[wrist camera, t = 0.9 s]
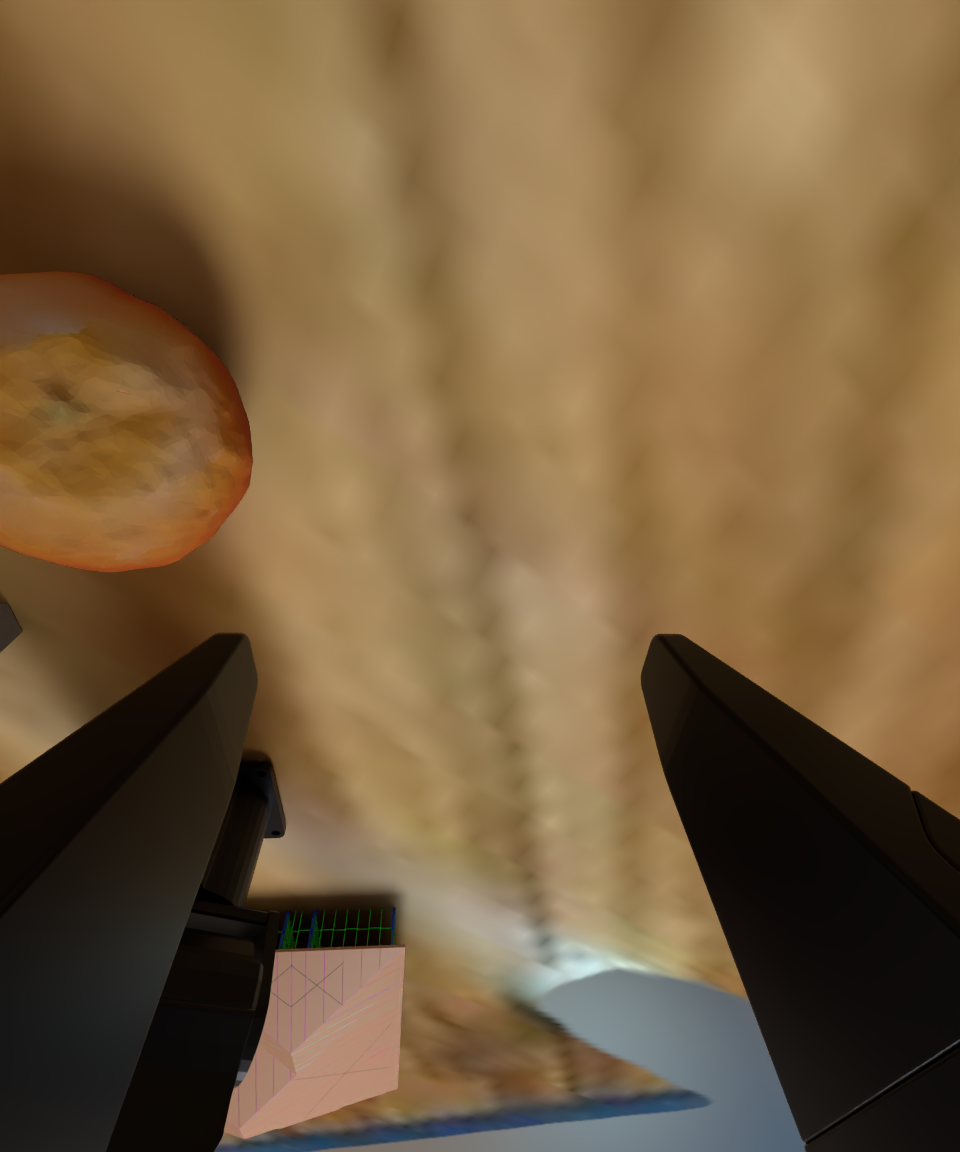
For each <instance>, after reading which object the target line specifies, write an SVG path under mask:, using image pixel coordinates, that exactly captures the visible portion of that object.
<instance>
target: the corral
mask: <svg viewBox="0 0 960 1152" xmlns="http://www.w3.org/2000/svg"><path fill="white" fill-rule="evenodd" d="M21 632H22V630H21V628H20V626H19V624H18V622H17V621H16V619H15V617H14V615H13V613H12V611H11V609H10V607H9V605H8V604H1V603H0V653H1V652H2V651H3V650H4V649H5V648H6V647H7V646H8V645H9V644H10V643H11V642H12V641H13V640H14V639H15V638H16V637H17V636H18V635H19V634H20V633H21Z"/></svg>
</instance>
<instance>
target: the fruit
mask: <svg viewBox="0 0 960 1152" xmlns="http://www.w3.org/2000/svg"><path fill="white" fill-rule="evenodd" d="M252 464H253V457H252V443H251V433H250V426H249V421H248V418H247V414H246V412H245V409H244V406H243V403H242V400H241V397H240V395H239V392H238V389H237V386H236V384H235V382H234V380H233V378H232V376H231V374H230V373H229V371H228V369H227V368H226V366H225V365H224V364H223V363H222V361H221V360H220V359H219V358H218V357H217V355H216V354H215V353H214V352H213V351H212V350H211V349H210V348H209V347H207V346H206V345H205V344H204V343H203V342H202V341H201V340H200V339H199V338H198V337H197V336H196V335H195V334H194V333H192V332H191V331H190V330H189V329H187V328H186V327H185V326H184V325H183V324H181V323H180V322H179V321H177V320H176V319H174V318H173V317H172V316H170V315H169V314H168V313H166V312H165V311H164V310H162V309H161V308H159V307H158V306H156V305H153V304H151V303H148V302H146V301H143V300H140V299H139V298H137V297H135V296H133V295H131V294H129V293H127V292H126V291H124V290H122V289H120V288H119V287H117V286H115V285H113V284H111V283H109V282H107V281H105V280H103V279H101V278H99V277H97V276H94V275H90V274H84V273H78V272H35V273H19V274H2V275H0V546H2V547H5V548H8V549H10V550H13V551H15V552H18V553H21V554H23V555H27V556H30V557H34V558H38V559H41V560H45V561H49V562H52V563H56V564H59V565H63V566H68V567H73V568H79V569H84V570H91V571H98V572H120V571H127V570H135V569H143V568H151V567H159V566H164V565H168V564H171V563H173V562H176V561H179V560H180V559H182V558H183V557H184V556H185V555H187V554H188V553H190V552H191V551H193V550H194V549H195V548H197V547H198V546H200V545H201V544H203V543H205V542H207V541H208V540H210V539H211V538H212V537H213V536H214V535H215V534H216V532H217V531H218V529H219V528H220V526H221V525H222V524H223V522H224V521H225V520H226V519H227V518H228V517H229V515H230V514H231V513H232V512H233V511H234V509H235V508H236V507H237V505H238V504H239V502H240V501H241V499H242V498H243V496H244V495H245V493H246V491H247V489H248V487H249V485H250V478H251V470H252Z"/></svg>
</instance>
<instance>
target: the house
mask: <svg viewBox="0 0 960 1152" xmlns="http://www.w3.org/2000/svg"><path fill="white" fill-rule="evenodd" d="M359 911H360V909H359ZM336 912H337V909H336ZM302 913H303V910H302ZM289 914H290V911H287V912H286V916H285V921H284V925H283V930H282V931H281V932H278V933H282V935H281V939H280V944H279V948H278V949H277V950H276V951H275V960H274V968H273V976H272V985H271V993H270V1000H269V1006H268V1011H267V1015H266V1020H265V1024H264V1027H263V1031H262V1035H261V1038H260V1041H259V1044H258V1047H257V1050H256V1053H255V1055H254V1058H253V1061H252V1063H251V1065H250V1068H249V1070H248V1072H247V1074H246V1076H245V1078H244V1079H243V1081H242V1082H241V1084H240V1085H239V1086H238V1087H236V1088H234V1089H233V1093H232V1096H231V1100H230V1105H229V1110H228V1114H227V1119H226V1124H225V1128H224V1132H225V1133H228V1134H231V1135H234V1136H237V1137H240V1138H243V1139H246V1138H249V1137H252V1136H256V1135H259V1134H262V1133H265V1132H268V1131H271V1130H274V1129H281V1128H284V1127H287V1126H290V1125H293V1124H296V1123H299V1122H302V1121H305V1120H308V1119H311V1118H314V1117H317V1116H320V1115H323V1114H326V1113H329V1112H332V1111H335V1110H338V1109H340V1108H341V1107H344V1106H347V1105H350V1104H353V1103H356V1102H359V1101H362V1100H365V1099H368V1098H371V1097H374V1096H377V1095H380V1094H383V1093H386V1092H389V1091H392V1090H395V1089H398V1071H399V1052H400V1033H401V1014H402V995H403V976H404V957H405V945H394V935H395V933H394V932H395V908H393V916H392V928H381V924H380V927H375V928H367V929H358V922H357V928H346V925H345V929H338V930H334V927H333V929H322V928H323V922H322V928H321V930H318V928H319V927H317V924H318V922H316V920H317V916H316V914H317V910H314V912H313V917H312V923H311V929H310V930H299V929H300V924H301V919H302V914H301V919H300V924H299V929H298V931H293V926H294V921H295V916H296V911H295V916H294V921H293V926H290V924H291V921H289V918H290V915H289ZM324 915H325V910H324ZM370 915H371V908H370ZM347 916H348V909H347ZM335 919H336V913H335ZM358 920H359V913H358ZM381 920H382V911H381ZM323 921H324V916H323ZM288 923H289V924H288ZM346 924H347V917H346ZM334 926H335V920H334ZM369 926H370V918H369ZM287 927H288V929H287ZM289 929H290V930H289ZM291 929H292V930H291ZM369 929H380V933H381V929H392V932H391V945H380V937H379V946H372V944H371V946H368V939H367V946H356V940H355V946H354V947H351V945H350V947H344V941H343V947H340V945H339V947H332V941H331V947H328V948H322V946H320V943H321V942H320V940H321V934H322V931H328V930H333V933H334V931H345V932H346V930H368V937H369ZM300 931H310V934H309V940H308V946H307V948H302V949H296V945H297V939H298V934H299V932H300ZM286 932H287V934H286ZM293 932H298V934H297V939H296V944H295V942H293V939H294V937H292V934H293ZM319 932H321V934H320V937H319ZM288 933H289V935H288ZM290 934H291V935H290ZM287 938H288V940H287ZM289 939H290V940H289ZM291 939H292V941H291ZM356 939H357V931H356ZM332 940H333V934H332ZM344 940H345V933H344ZM284 942H285V943H284ZM288 944H289V945H288ZM290 944H291V946H290ZM292 944H293V945H292ZM294 944H295V946H294ZM283 946H284V948H283ZM285 948H286V949H285Z"/></svg>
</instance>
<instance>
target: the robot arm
mask: <svg viewBox="0 0 960 1152" xmlns="http://www.w3.org/2000/svg"><path fill="white" fill-rule="evenodd" d="M257 681H258V679H257V671H256V667H255V662H254V658H253V653H252V649H251V644H250V641H249V638H248V637H247V635H245V634H244V633H217V634H214V635H213V636H211V637H209V638H208V639H207V640H205V641H204V642H202V643H201V644H199V645H198V646H197V647H195V648H194V649H192V650H191V651H189V652H188V653H187V654H185V655H184V656H182V657H181V658H179V659H178V660H177V661H175V662H174V663H172V664H171V665H169V666H168V667H167V668H165V669H164V670H162V671H161V672H159V673H158V674H157V675H155V676H154V677H152V678H151V679H149V680H148V681H146V682H145V683H144V684H142V685H141V686H139V687H138V688H136V689H135V690H134V691H132V692H131V693H129V694H128V695H126V696H125V697H124V698H122V699H121V700H119V701H118V702H116V703H115V704H114V705H112V706H111V707H109V708H108V709H106V710H105V711H104V712H102V713H101V714H99V715H98V716H96V717H95V718H94V719H92V720H91V721H89V722H88V723H86V724H85V725H83V726H82V727H81V728H79V729H78V730H76V731H75V732H73V733H72V734H71V735H69V736H68V737H66V738H65V739H63V740H62V741H61V742H59V743H58V744H56V745H55V746H53V747H52V748H51V749H49V750H48V751H46V752H45V753H43V754H42V755H41V756H39V757H38V758H36V759H35V760H33V761H32V762H31V763H29V764H28V765H26V766H25V767H23V768H22V769H21V770H19V771H18V772H16V773H15V774H13V775H12V776H10V777H9V778H8V779H6V780H5V781H3V782H2V783H0V1152H214V1150H215V1149H216V1147H217V1145H218V1144H219V1142H220V1140H221V1138H222V1136H223V1133H224V1128H225V1124H226V1119H227V1114H228V1110H229V1105H230V1100H231V1096H232V1093H233V1089H234V1088H236V1087H238V1086H239V1085H240V1084H241V1082H242V1081H243V1079H244V1078H245V1076H246V1074H247V1072H248V1070H249V1068H250V1065H251V1063H252V1061H253V1058H254V1055H255V1053H256V1050H257V1047H258V1044H259V1041H260V1038H261V1035H262V1031H263V1027H264V1024H265V1020H266V1015H267V1011H268V1006H269V1000H270V993H271V985H272V976H273V968H274V960H275V951H276V943H277V935H278V926H279V918H280V912H276V911H271V910H269V911H268V912H265V911H260V910H255V909H250V908H245V907H244V906H245V902H246V899H247V895H248V892H249V888H250V885H251V881H252V878H253V874H254V870H255V867H256V863H257V860H258V856H259V853H260V849H261V846H262V842H263V839H264V838H280V837H282V836H284V834H285V830H286V824H285V819H284V815H283V810H282V806H281V802H280V797H279V793H278V788H277V784H276V779H275V775H274V771H273V767H272V765H271V764H270V763H267V762H262V761H260V762H240V761H241V757H242V753H243V748H244V744H245V739H246V735H247V731H248V726H249V722H250V717H251V713H252V709H253V704H254V700H255V695H256V691H257ZM641 687H642V691H643V695H644V699H645V703H646V707H647V710H648V714H649V718H650V722H651V726H652V730H653V734H654V738H655V742H656V746H657V750H658V753H659V757H660V761H661V765H662V768H663V772H664V775H665V778H666V781H667V783H668V786H669V789H670V792H671V794H672V797H673V800H674V802H675V805H676V808H677V810H678V813H679V816H680V818H681V821H682V824H683V826H684V829H685V832H686V834H687V837H688V840H689V842H690V845H691V847H692V850H693V853H694V855H695V858H696V861H697V863H698V866H699V869H700V871H701V874H702V877H703V879H704V882H705V885H706V887H707V890H708V892H709V895H710V898H711V900H712V903H713V906H714V908H715V911H716V914H717V916H718V919H719V922H720V924H721V927H722V930H723V932H724V935H725V937H726V940H727V943H728V945H729V948H730V951H731V953H732V956H733V959H734V961H735V964H736V967H737V969H738V972H739V975H740V977H741V980H742V982H743V985H744V988H745V990H746V993H747V996H748V998H749V1001H750V1004H751V1006H752V1009H753V1011H754V1014H755V1017H756V1020H757V1022H758V1025H759V1027H760V1030H761V1033H762V1035H763V1038H764V1041H765V1043H766V1046H767V1049H768V1051H769V1054H770V1056H771V1059H772V1062H773V1064H774V1067H775V1070H776V1072H777V1075H778V1078H779V1080H780V1083H781V1086H782V1088H783V1091H784V1094H785V1096H786V1099H787V1102H788V1104H789V1107H790V1109H791V1112H792V1115H793V1117H794V1120H795V1123H796V1125H797V1128H798V1131H799V1133H800V1136H801V1139H802V1140H803V1142H804V1143H806V1144H805V1151H806V1152H960V819H958V818H956V817H955V816H953V815H952V814H950V813H949V812H947V811H946V810H944V809H943V808H941V807H940V806H938V805H937V804H935V803H934V802H932V801H931V800H929V799H928V798H926V797H925V796H923V795H922V794H920V793H919V792H917V791H911V789H910V787H909V786H908V785H907V784H905V783H904V782H902V781H901V780H899V779H898V778H896V777H895V776H893V775H892V774H890V773H889V772H887V771H886V770H884V769H883V768H881V767H880V766H878V765H877V764H875V763H874V762H872V761H871V760H869V759H868V758H866V757H865V756H863V755H862V754H860V753H859V752H857V751H856V750H854V749H853V748H851V747H850V746H848V745H847V744H845V743H844V742H842V741H841V740H839V739H838V738H836V737H835V736H833V735H832V734H830V733H829V732H827V731H826V730H824V729H823V728H821V727H820V726H818V725H817V724H815V723H814V722H812V721H811V720H809V719H808V718H806V717H805V716H803V715H802V714H800V713H799V712H797V711H796V710H794V709H793V708H791V707H790V706H788V705H787V704H785V703H784V702H782V701H781V700H779V699H778V698H776V697H775V696H773V695H772V694H770V693H769V692H767V691H766V690H764V689H763V688H761V687H760V686H758V685H757V684H755V683H754V682H752V681H751V680H749V679H748V678H746V677H745V676H743V675H742V674H740V673H739V672H737V671H736V670H734V669H733V668H731V667H730V666H728V665H727V664H725V663H724V662H722V661H721V660H719V659H718V658H716V657H715V656H713V655H712V654H710V653H709V652H707V651H706V650H704V649H703V648H701V647H700V646H698V645H697V644H695V643H694V642H692V641H691V640H689V639H688V638H686V637H685V636H683V635H681V634H657V635H655V636H654V637H653V638H652V640H651V643H650V646H649V649H648V653H647V656H646V659H645V662H644V665H643V669H642V672H641Z"/></svg>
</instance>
